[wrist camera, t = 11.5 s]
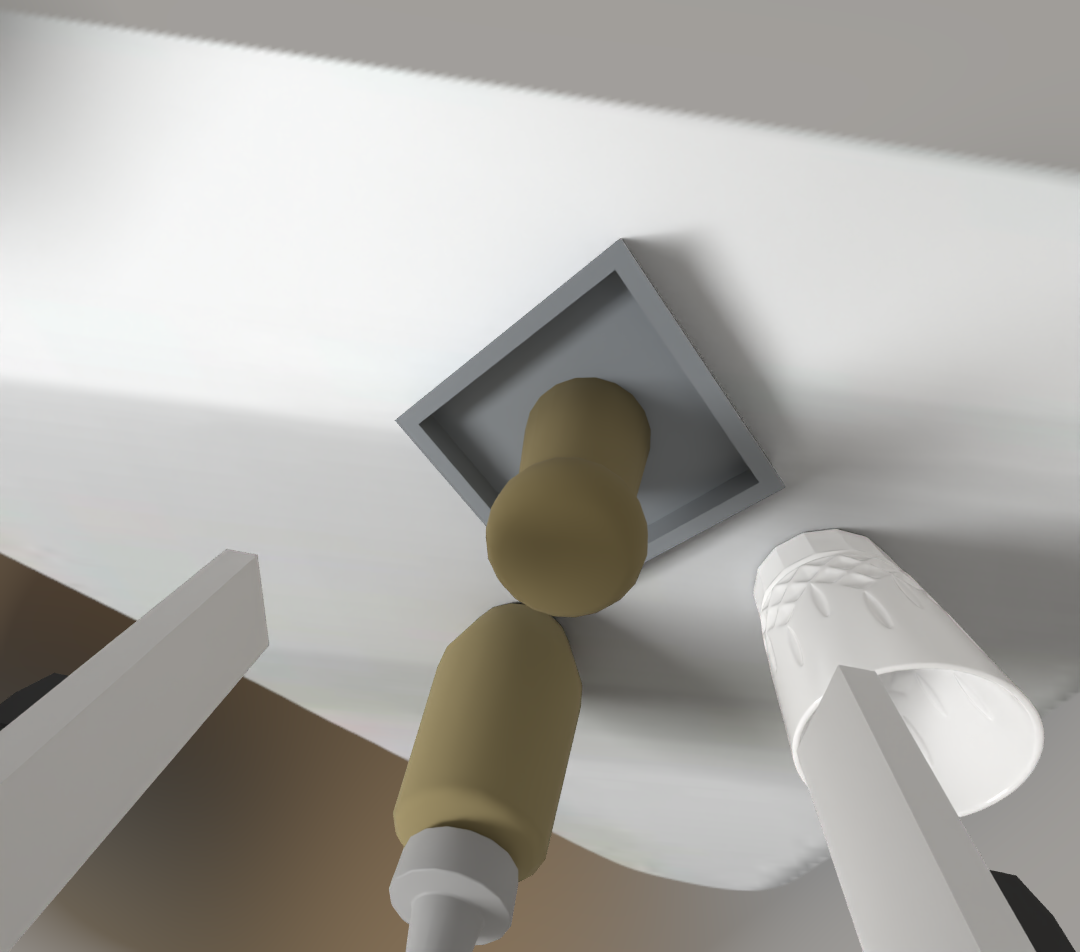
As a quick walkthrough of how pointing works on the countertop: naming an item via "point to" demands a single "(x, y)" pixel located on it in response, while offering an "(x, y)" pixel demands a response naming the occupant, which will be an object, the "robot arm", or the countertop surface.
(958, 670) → the white cup
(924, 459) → the countertop surface
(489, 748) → the squeeze bottle
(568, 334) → the tray
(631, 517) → the cork
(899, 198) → the countertop surface
